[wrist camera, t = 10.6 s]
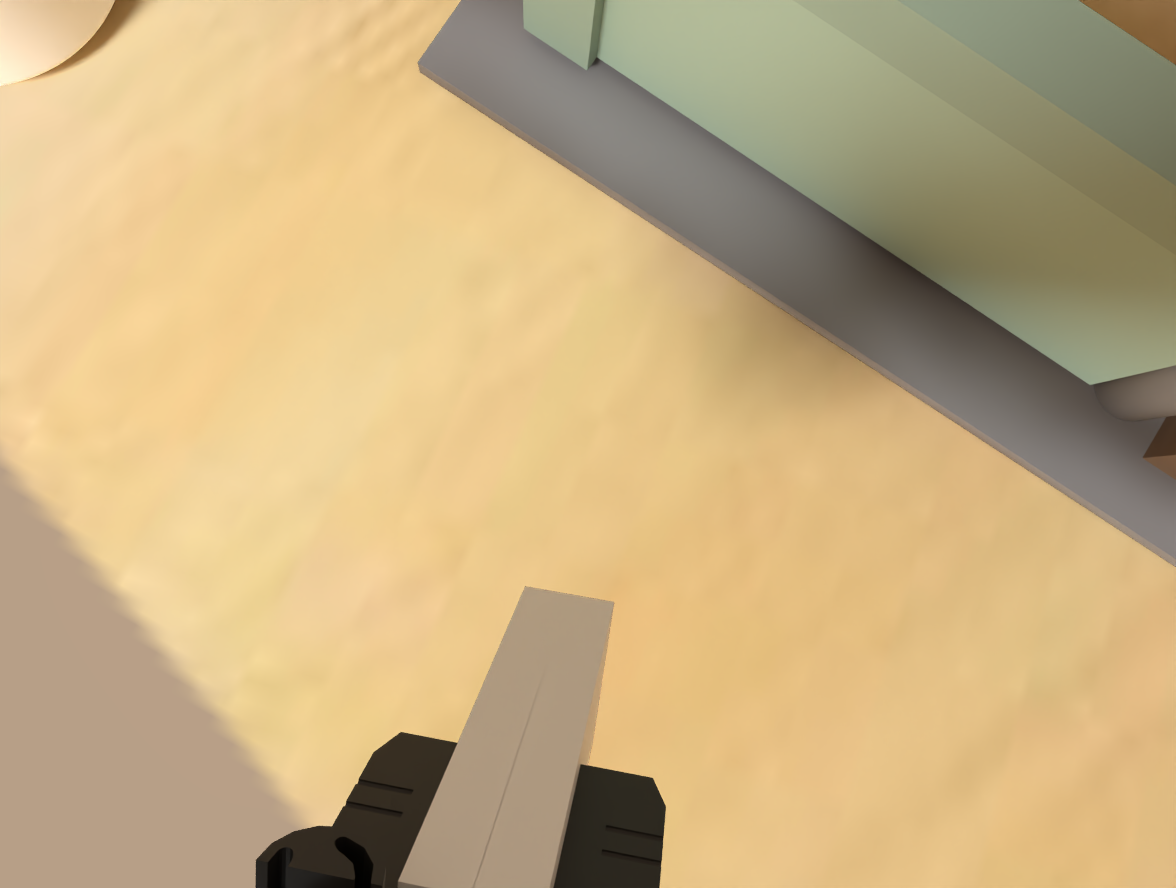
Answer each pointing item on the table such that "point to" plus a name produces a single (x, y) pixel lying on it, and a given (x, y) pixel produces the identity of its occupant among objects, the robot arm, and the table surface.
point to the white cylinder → (44, 34)
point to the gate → (946, 149)
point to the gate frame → (812, 266)
